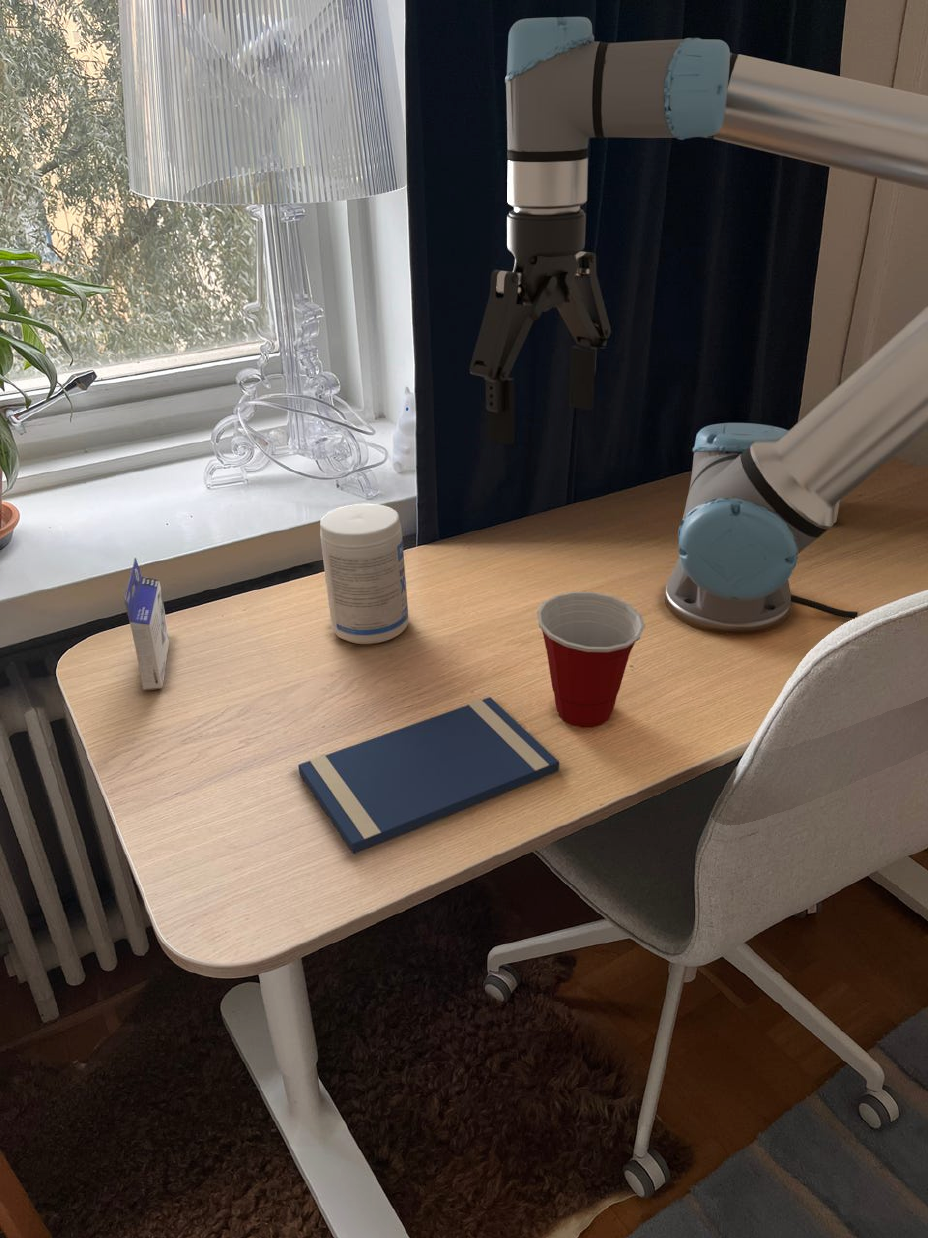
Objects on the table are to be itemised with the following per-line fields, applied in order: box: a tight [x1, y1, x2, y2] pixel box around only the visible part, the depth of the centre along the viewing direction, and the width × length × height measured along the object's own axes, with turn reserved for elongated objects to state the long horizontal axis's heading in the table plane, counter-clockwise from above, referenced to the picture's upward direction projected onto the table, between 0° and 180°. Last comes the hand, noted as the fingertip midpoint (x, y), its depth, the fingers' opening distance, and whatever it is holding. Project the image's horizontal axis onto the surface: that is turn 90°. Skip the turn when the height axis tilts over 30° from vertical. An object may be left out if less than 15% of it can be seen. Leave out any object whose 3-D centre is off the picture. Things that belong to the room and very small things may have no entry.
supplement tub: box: [319, 503, 409, 645], centre depth 116 cm, size 10×10×15 cm
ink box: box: [124, 557, 170, 691], centre depth 110 cm, size 12×2×12 cm, turn 11°
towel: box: [297, 696, 560, 855], centre depth 94 cm, size 22×13×1 cm, turn 120°
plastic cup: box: [536, 590, 646, 729], centre depth 99 cm, size 11×11×12 cm
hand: (543, 423), depth 103 cm, fingers open, 13 cm apart
